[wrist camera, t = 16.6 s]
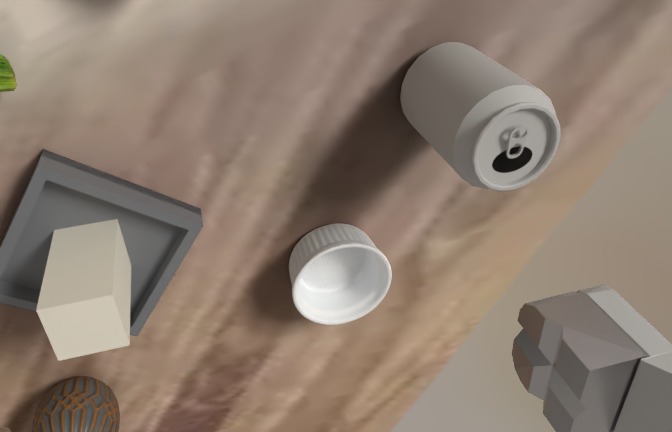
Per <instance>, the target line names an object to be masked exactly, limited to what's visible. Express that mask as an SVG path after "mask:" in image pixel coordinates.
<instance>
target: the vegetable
mask: <svg viewBox="0 0 672 432" xmlns="http://www.w3.org/2000/svg"><path fill="white" fill-rule="evenodd" d="M16 86H17V84H16V79H15V74H14V71H13V69H12V67H11V66H10V63H9V61H8V59H6V58H5V57H4V56H3V55H1V54H0V92H3V91H14V89H15V88H16Z"/></svg>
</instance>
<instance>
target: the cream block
mask: <svg viewBox="0 0 672 432" xmlns="http://www.w3.org/2000/svg"><path fill="white" fill-rule="evenodd" d="M130 302H131V263H130V259H129V256H128V253H127V249H126V246H125V243H124V239H123V236H122V233H121V229H120V226H119V223H118V219H114V220H109V221H103V222H97V223H91V224H86V225H80V226H74V227H69V228H63V229H57V230H54V233H53V237H52V242H51V246H50V251H49V255H48V260H47V264H46V269H45V273H44V277H43V282H42V286H41V291H40V295H39V300H38V304H37V309H36V311H37V313H38V316H39V318H40V320H41V322H42V325H43V327H44V329H45V331H46V334H47V336H48V338H49V340H50V343H51V345H52V347H53V349H54V352H55V354H56V356H57V358H58V361H60V360H65V359H69V358H74V357H78V356H83V355H87V354H92V353H97V352H101V351H106V350H110V349H115V348H119V347H124V346H128V345H129V343H130Z"/></svg>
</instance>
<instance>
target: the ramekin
mask: <svg viewBox="0 0 672 432" xmlns="http://www.w3.org/2000/svg"><path fill="white" fill-rule="evenodd" d="M289 273H290V278H291V283H292V298H293V302H294V305H295V307H296V309H297V310H298V311H299V312H300V313H301V314H302V315H303V316H304V317H305V318H307V319H308V320H311V321H313V322H316V323H319V324H326V325H336V324H342V323H347V322H350V321H353V320H356V319H358V318H360V317H362V316H364V315H365V314H367V313H369V312H370V311H371V310H373V309H374V308H375V307H376V306H377V305H378V304H379V303H380V302H381V301H382V299H383V298H384V297H385V295H386V293H387V291H388V289H389V287H390V283H391V277H392V276H391V275H392V273H391V267H390V264H389V262H388V260H387V258H386V257H385V256H384V254H383V253H382V252H381V251H380V250H378V249H377V248H376V246H375V245H374V244H373V242H372V241H371V240H370V238H369V237H368V236H367V235H366V234H365V233H364V232H363V231H362V230H361V229H359V228H357V227H355V226H352V225H348V224H341V223H337V224H329V225H325V226H322V227H319V228H316V229H314V230H313V231H311V232H309V233H308V234H306V235H305V236H304V237H303V238H302V239H301V240H300V241H299V242H298V243H297V244H296V246H295V247H294V249H293V251H292V253H291V256H290V261H289Z"/></svg>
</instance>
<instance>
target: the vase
mask: <svg viewBox="0 0 672 432" xmlns="http://www.w3.org/2000/svg"><path fill="white" fill-rule="evenodd" d="M119 423H120V413H119V406H118V402H117V399H116V397H115V395H114V393H113V392H112V390H111V389H110V388H109V387H108V386H107V385H106V384H105V383H103V382H102V381H100V380H97V379H95V378H91V377H84V376H81V377H74V378H70V379H67V380H65V381H62V382H61V383H59V384H57V385H56V386H54V387H53V388H52V389H51V390H50V391H49V392H48V393H47V394H46V395H45V396H44V398H43V399H42V401H41V402H40V404H39V406H38V408H37V411H36V414H35V417H34V421H33V427H32V432H118V430H119Z"/></svg>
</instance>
